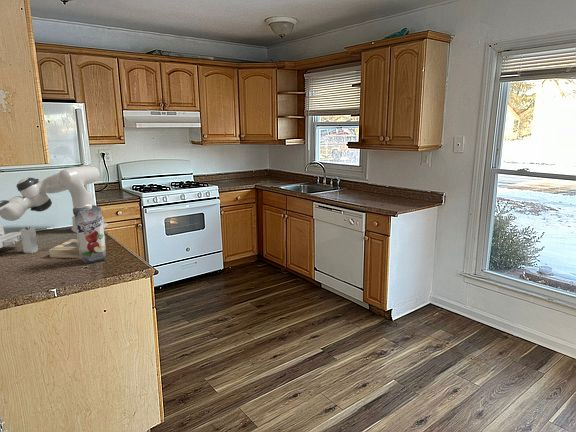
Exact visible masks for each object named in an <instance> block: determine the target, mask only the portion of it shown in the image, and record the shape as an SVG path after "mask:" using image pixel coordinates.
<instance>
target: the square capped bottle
mask: <svg viewBox="0 0 576 432" xmlns="http://www.w3.org/2000/svg"><path fill="white" fill-rule="evenodd" d="M19 232H21V238H22V240H21V243H22V249H23V253H24V254H33V252H34V253H36V252H38V251H39V246H38V245H39V244H38V238H37V233H36V228H35V227H31V226H29V225H28V226H24V228H22V229H20V230H19Z"/></svg>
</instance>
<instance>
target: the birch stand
mask: <svg viewBox="0 0 576 432" xmlns="http://www.w3.org/2000/svg"><path fill="white" fill-rule="evenodd" d="M48 252H49V258H61V259H62V258H63V259H64V258H67V259H68V258H71V259H72V258H74V259H79V258H80V259H81V257H80V254H79V247H78V240H77V239H73V238H71V239H68V240H66V241H64V242H62V243H60V244H58V245H56V246H53V247H52V248H49V249H48Z"/></svg>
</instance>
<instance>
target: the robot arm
mask: <svg viewBox="0 0 576 432" xmlns="http://www.w3.org/2000/svg"><path fill="white" fill-rule="evenodd" d="M100 176H101V173H100V170H99V169H98V168H97V167H96V166H92V165H84V166H83V165H82V166H81V165H80V166H73V167H66V168H64V169H62V170H60V171H58V172H57V173H55V174H52V175H49V176H47V177H46V178H44V179H43V180H41V181H39V178H34V177H25V178H22V179H20V180H19V181H18V182H17V183H16V189H17V191H18V192H19V193H20V194H21V195H16V196H14V197H11V198H9V199H8V200H7V199H6V200H5V199H4V200H0V217H1V219H4V220H6V221H8V222H9V221H10V222H15V221H17V220H19V219H20V218H21V217H23V216H24V214H25V213H26V212H27V210H29V209H30V211H32V212H40V213H41V212H44V211H46V210H48V209H50V207H51V206H52V204H53V202H52V199H51V198H49V196H48V195H47V194H56V193H57V194H58V193H61V192H65V191H68V192H69V193H70V197H71V201H72V206H73V207H72V214H73V216H72V218H71V219H72V220H71V221H72V222H71V224H72V228H70V229H71V230H70V231H72V232H73V233H77V232H76V224H75V212H74V208H76V207H85V205H88V204H90V205H94V199H93V198H94V197H93V194H92V193H91V192H90V191H88V190H87V188H86V185H89V184H93V183H95V182H97V181H98V180H100ZM108 225H109V223H107V222H104V229H105V228H106V227H107V226H108ZM20 241H22V238H21V232H20V231H12V232H8V233H6V232H5V230H4V227H3V225H2V222H1V221H0V249H1V248H4V247H8V246H12V245H16V244H17V243H18V242H20Z"/></svg>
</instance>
